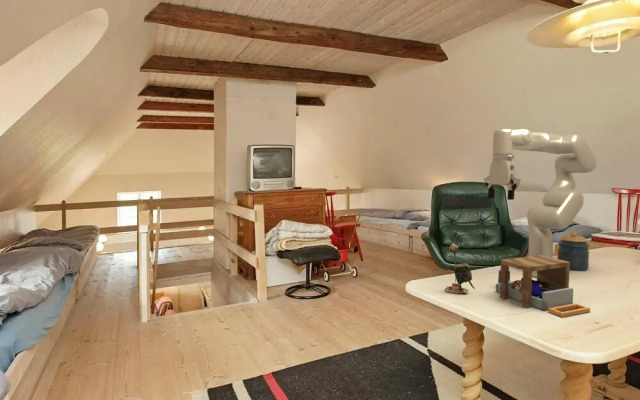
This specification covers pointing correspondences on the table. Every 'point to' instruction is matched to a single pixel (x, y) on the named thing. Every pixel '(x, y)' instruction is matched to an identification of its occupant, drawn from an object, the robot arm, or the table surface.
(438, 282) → the table surface
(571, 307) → the wooden rectangular frame
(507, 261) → the small wooden table
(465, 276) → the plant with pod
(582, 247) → the canister
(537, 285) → the character figurine
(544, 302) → the sled
